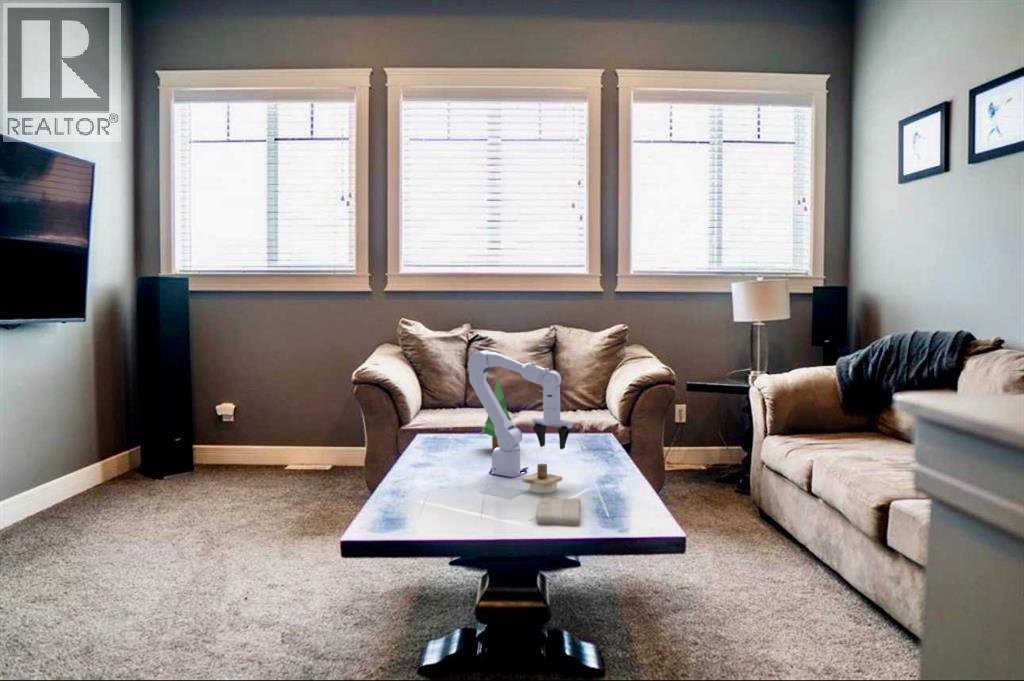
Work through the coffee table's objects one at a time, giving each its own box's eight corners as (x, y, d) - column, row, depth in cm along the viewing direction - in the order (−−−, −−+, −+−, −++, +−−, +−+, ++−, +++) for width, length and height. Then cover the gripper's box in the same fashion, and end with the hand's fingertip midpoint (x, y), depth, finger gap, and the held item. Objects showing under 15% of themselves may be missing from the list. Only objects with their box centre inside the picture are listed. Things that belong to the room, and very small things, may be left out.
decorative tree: (472, 449, 256) (471, 374, 254) (501, 443, 266) (501, 371, 264) (494, 455, 246) (493, 378, 244) (523, 449, 256) (523, 374, 254)
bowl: (524, 492, 200) (524, 481, 200) (538, 485, 207) (538, 475, 207) (548, 496, 195) (548, 486, 195) (561, 489, 202) (561, 479, 202)
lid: (522, 481, 200) (522, 465, 199) (538, 475, 207) (538, 459, 206) (545, 487, 194) (545, 470, 194) (562, 480, 201) (562, 464, 201)
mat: (478, 494, 197) (478, 492, 197) (496, 486, 206) (496, 484, 206) (510, 501, 191) (510, 499, 191) (528, 492, 199) (528, 490, 199)
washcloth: (580, 505, 188) (580, 495, 188) (581, 527, 170) (581, 516, 170) (539, 504, 189) (539, 494, 189) (536, 526, 171) (536, 515, 171)
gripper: (527, 407, 214) (527, 447, 215) (565, 410, 206) (565, 452, 207) (537, 404, 220) (538, 443, 221) (575, 407, 212) (575, 447, 213)
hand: (552, 447), depth 215 cm, fingers open, 7 cm apart
